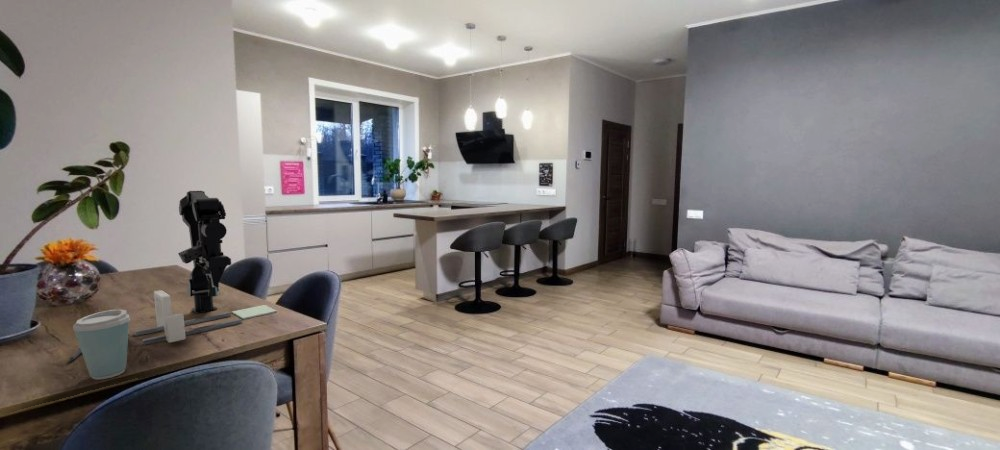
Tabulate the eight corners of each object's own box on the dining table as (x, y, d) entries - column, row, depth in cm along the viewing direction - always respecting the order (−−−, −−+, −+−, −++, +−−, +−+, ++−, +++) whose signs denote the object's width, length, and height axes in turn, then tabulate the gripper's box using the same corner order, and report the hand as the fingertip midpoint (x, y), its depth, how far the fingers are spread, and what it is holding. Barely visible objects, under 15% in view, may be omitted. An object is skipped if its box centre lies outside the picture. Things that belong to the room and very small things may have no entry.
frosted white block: (153, 327, 143) (149, 291, 141) (168, 323, 146) (165, 289, 144) (168, 342, 129) (165, 303, 128) (185, 338, 132) (182, 300, 131)
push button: (203, 294, 151) (200, 264, 150) (222, 291, 154) (219, 262, 153) (205, 298, 146) (202, 267, 145) (224, 295, 149) (221, 264, 148)
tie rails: (135, 334, 140) (134, 331, 140) (229, 315, 159) (229, 311, 159) (143, 345, 132) (143, 341, 131) (242, 322, 150) (242, 319, 150)
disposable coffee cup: (104, 385, 106) (97, 323, 104) (66, 382, 108) (58, 320, 106) (146, 366, 117) (140, 309, 115) (111, 364, 118) (105, 307, 117)
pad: (232, 312, 162) (232, 311, 162) (264, 306, 170) (264, 304, 170) (243, 319, 154) (243, 318, 154) (276, 312, 162) (276, 310, 162)
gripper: (172, 237, 148) (176, 284, 150) (188, 243, 135) (192, 294, 137) (211, 233, 156) (215, 278, 158) (230, 238, 143) (233, 287, 145)
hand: (213, 284), depth 149 cm, fingers closed on push button, 4 cm apart
